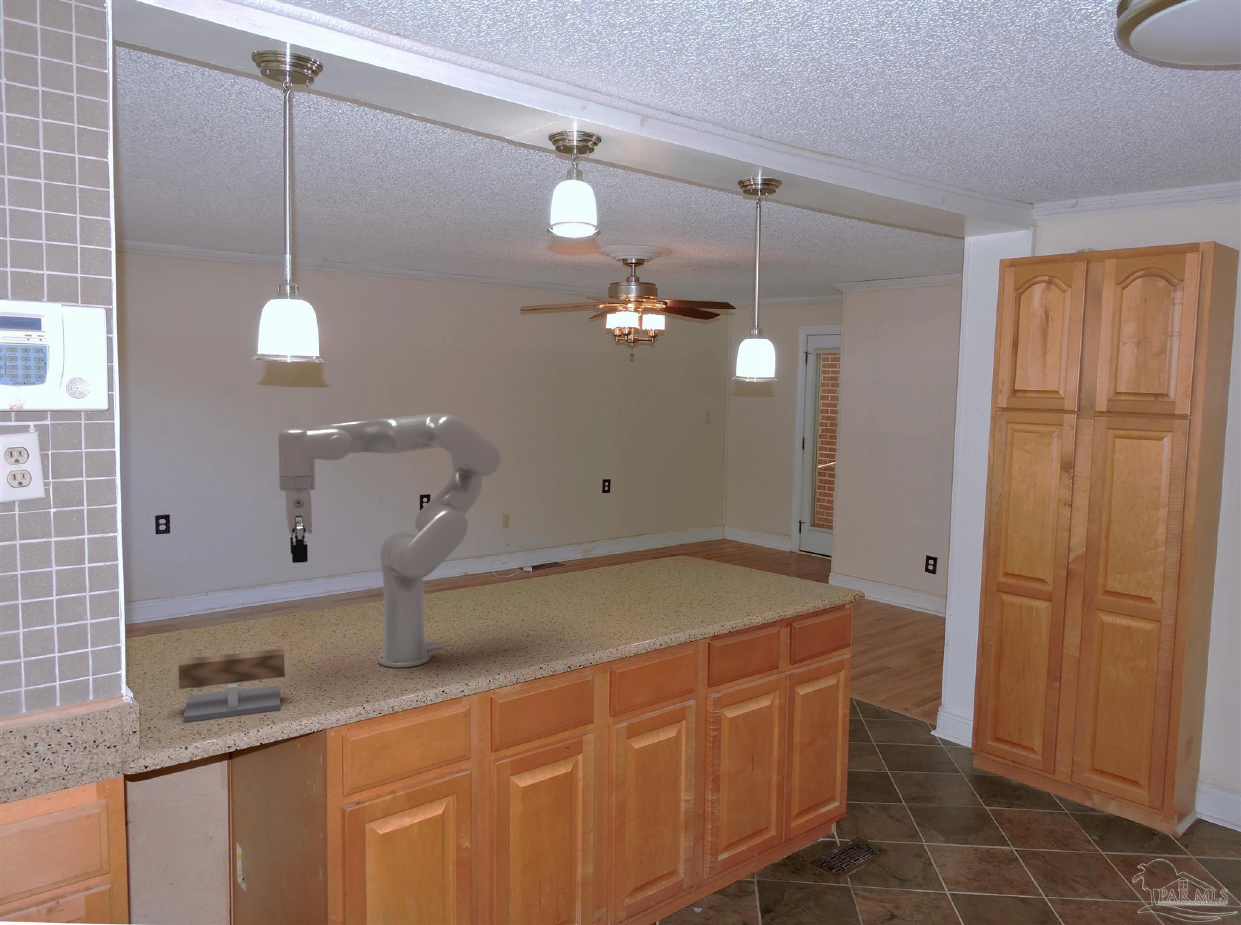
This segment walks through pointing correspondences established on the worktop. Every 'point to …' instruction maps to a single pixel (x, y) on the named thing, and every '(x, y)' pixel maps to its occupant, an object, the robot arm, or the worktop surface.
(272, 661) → the beam
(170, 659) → the worktop surface
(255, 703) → the fulcrum board
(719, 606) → the worktop surface
